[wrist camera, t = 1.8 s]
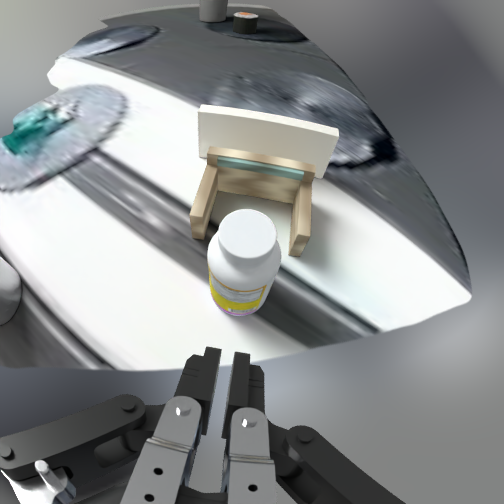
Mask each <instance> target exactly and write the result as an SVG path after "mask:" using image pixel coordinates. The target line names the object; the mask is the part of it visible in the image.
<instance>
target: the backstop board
mask: <svg viewBox="0 0 504 504" xmlns="http://www.w3.org/2000/svg"><path fill="white" fill-rule="evenodd" d="M198 136H199V157H203V158H207V152H208V149H209V147H210V146H213V147H220V148H227V149H234V150H240V151H246V152H252V153H258V154H264V155H269V156H275V157H280V158H285V159H290V160H295V161H299V162H304V163H309V164H313V165H316V173H315V176H314V177H315V178H320V179H322V177H323V175H324V172H325V170H326V168H327V165H328V163H329V160H330V158H331V156H332V153H333V151H334V148H335V146H336V143H337V141H338V138H339V132H338V129H336V128H332V127H328V126H324V125H320V124H316V123H312V122H308V121H303V120H299V119H294V118H289V117H284V116H279V115H274V114H268V113H262V112H256V111H250V110H243V109H236V108H229V107H221V106H212V105H201V107H200V109H199V110H198Z"/></svg>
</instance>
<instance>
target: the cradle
mask: <svg viewBox="0 0 504 504" xmlns="http://www.w3.org/2000/svg"><path fill="white" fill-rule="evenodd" d="M315 173H316V165H313V164H309V163H304V162H299V161H295V160H290V159H285V158H280V157H275V156H269V155H264V154H258V153H252V152H246V151H240V150H234V149H227V148H220V147H213V146H210V147H209V149H208V152H207V166H206V169H205V172H204V174H203V177H202V180H201V183H200V186H199V189H198V191H197V194H196V197H195V200H194V203H193V206H192V209H191V212H190V222H191V230H192V237H193V238H196V239H202V240H204V237H205V234H206V230H207V226H208V223H209V219H210V215H211V212H212V208H213V205H214V201H215V198H216V194H217V191H223V192H229V193H235V194H241V195H247V196H253V197H258V198H264V199H269V200H275V201H280V202H285V203H290V204H293V205H292V218H291V231H290V242H289V254H288V255H292V256H298V257H300V255H301V253H302V251H303V250H304V248H305V246H306V244H307V242H308V240H309V238H310V232H311V194H312V181H313V178H314V176H315Z"/></svg>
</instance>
